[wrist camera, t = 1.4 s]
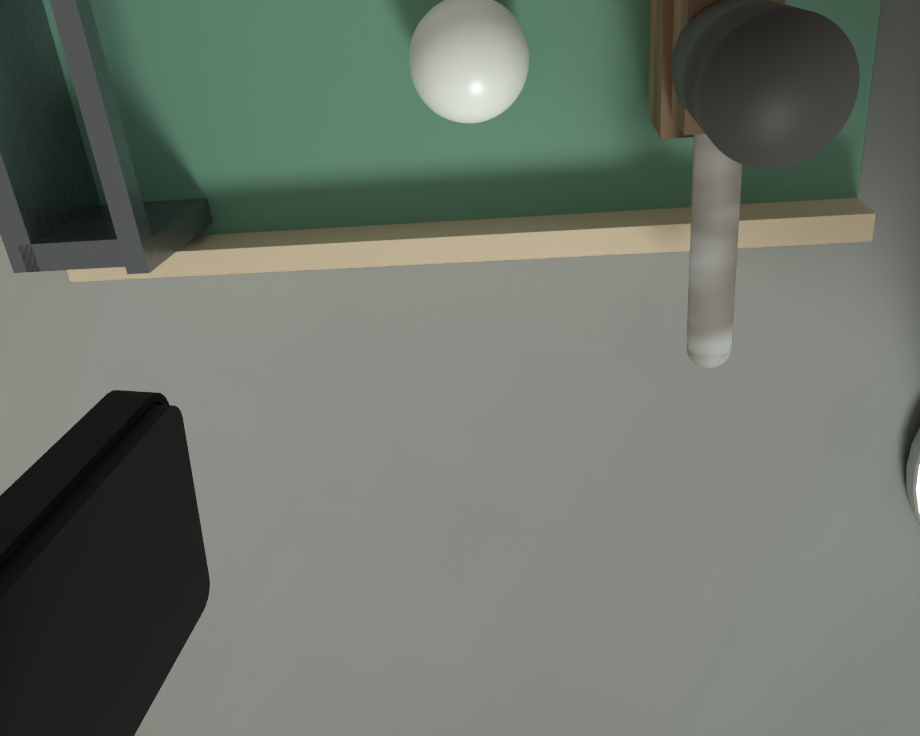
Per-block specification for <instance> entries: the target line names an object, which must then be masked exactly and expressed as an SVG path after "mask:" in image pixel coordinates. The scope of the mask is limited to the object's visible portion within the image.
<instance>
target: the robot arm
mask: <svg viewBox="0 0 920 736" xmlns="http://www.w3.org/2000/svg"><path fill="white" fill-rule="evenodd" d="M906 489H907V493H908V497H909V501H910V504H911V508H912V511H913V513H914V514H915V516H916V518H917V520H918V522H919V523H920V427H919V429H918V431H917V433H916V436H915V438H914V440H913V442H912V445H911V449H910V453H909V458H908V462H907V466H906ZM209 586H210V581H209V573H208V567H207V561H206V555H205V549H204V543H203V537H202V531H201V525H200V519H199V513H198V507H197V501H196V495H195V489H194V483H193V477H192V471H191V465H190V459H189V453H188V447H187V441H186V435H185V429H184V423H183V418H182V414H181V411H180V410H179V408H178V407H176V406H171V405H169V403H168V401H167V399H166V398H165V396H164V395H162V394H161V393H152V392H136V391H120V390H115V391H111V392H110V393H108V394H107V395H106V396H105V397H104V398H103V399H101V400H100V401H99V402H98V403H97V404H96V405H95V406H94V407H93V408H92V409H91V410H90V411H89V412H88V413H87V414H86V415H85V416H84V417H83V418H82V419H80V420H79V421H78V422H77V423H76V424H75V425H74V426H73V427H72V428H71V429H70V430H69V431H68V432H67V433H66V434H65V435H64V436H63V437H62V438H61V439H60V440H58V441H57V442H56V443H55V444H54V445H53V446H52V447H51V448H50V449H49V450H48V451H47V452H46V453H45V454H44V455H43V456H42V457H41V458H40V459H39V460H37V461H36V462H35V463H34V464H33V465H32V466H31V467H30V468H29V469H28V470H27V471H26V472H25V473H24V474H23V475H22V476H21V477H20V478H19V479H18V480H17V481H15V482H14V483H13V484H12V485H11V486H10V487H9V488H8V489H7V490H6V491H5V492H4V493H3V494H2V495H1V496H0V736H134V735H135V733H136V731H137V729H138V727H139V726H140V724H141V722H142V720H143V718H144V717H145V715H146V713H147V711H148V709H149V708H150V706H151V704H152V702H153V701H154V699H155V697H156V695H157V693H158V692H159V690H160V688H161V686H162V684H163V683H164V681H165V679H166V677H167V675H168V674H169V672H170V670H171V668H172V666H173V665H174V663H175V661H176V659H177V657H178V656H179V654H180V652H181V650H182V648H183V647H184V645H185V643H186V641H187V639H188V638H189V636H190V634H191V632H192V630H193V629H194V627H195V625H196V623H197V621H198V620H199V618H200V616H201V614H202V612H203V611H204V608H205V606H206V603H207V600H208V595H209Z"/></svg>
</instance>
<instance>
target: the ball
mask: <svg viewBox="0 0 920 736" xmlns="http://www.w3.org/2000/svg"><path fill="white" fill-rule="evenodd" d="M409 70H410V75H411V78H412V82H413V84H414V87H415V89H416V91H417V93H418V94H419V96H420V98H421V99H422V100H423V101H424V103H425V104H426V105H427V106H428V107H429V108H430V109H431V110H433V111H434V112H435V113H437V114H438V115H440V116H442V117H443V118H446V119H448V120H451V121H455V122H459V123H479V122H483V121H487V120H490V119H492V118H494V117H496V116H498V115H499V114H501V113H503V112H504V111H505V110H506V109H508V108H509V107H510V106H511V104H512V103H513V102H514V101H515V100H516V98H517V97H518V96H519V94H520V92H521V91H522V89H523V87H524V84H525V82H526V79H527V75H528V70H529V48H528V43H527V39H526V36H525V34H524V31H523V29H522V27H521V25H520V24H519V22H518V21H517V19H516V18H515V16H514V15H513V14H512V13H511V12H510V11H509V10H508V9H506V8H505V7H504V6H503V5H501V4H500V3H498V2H496V1H494V0H444V1H442V2H440V3H439V4H437V5H436V6H434V7H433V8H432V9H431V10H430V11H428V12H427V14H426V15H425V16H424V17H423V18H422V20H421V21H420V23H419V24H418V26H417V27H416V30H415V32H414V34H413V37H412V40H411V43H410V48H409Z"/></svg>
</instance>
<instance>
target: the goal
mask: <svg viewBox="0 0 920 736" xmlns="http://www.w3.org/2000/svg"><path fill="white" fill-rule="evenodd" d="M50 4H51V7H52V11H53V14H54V18H55V21H56V25H57V28H58V32H59V36H60V39H61V43H62V46H63V50H64V53H65V57H66V60H67V64H68V67H69V71H70V74H71V78H72V81H73V85H74V88H75V92H76V95H77V99H78V102H79V106H80V109H81V113H82V116H83V120H84V124H85V127H86V131H87V134H88V138H89V141H90V145H91V148H92V152H93V155H94V159H95V162H96V166H97V169H98V173H99V176H100V180H101V183H102V187H103V190H104V194H105V197H106V201H107V204H104V205H101V203H100V199H99V196H98V192H97V189H96V185H95V182H94V178H93V175H92V171H91V168H90V164H89V161H88V157H87V154H86V150H85V147H84V143H83V140H82V137H81V133H80V130H79V126H78V123H77V119H76V116H75V112H74V109H73V105H72V102H71V98H70V95H69V91H68V88H67V84H66V81H65V77H64V74H63V70H62V67H61V64H60V60H59V57H58V53H57V50H56V46H55V43H54V39H53V36H52V32H51V29H50V25H49V22H48V18H47V15H46V11H45V8H44V4H43V1H42V0H0V234H1V237H2V240H3V242H4V245H5V248H6V251H7V254H8V257H9V260H10V263H11V265H12V268H13V271H14V273H18V272H37V271H56V270H75V269H94V268H113V267H125V268H126V271H127V274H142V273H150V272H152V271H153V270H154V269H155V268H157V267H158V266H159V265H160V264H162V263H163V262H164V261H165V260H167V259H168V258H169V257H170V256H172V255H173V254H174V253H175V252H177V251H178V250H179V249H180V248H182V247H183V246H184V245H185V244H187V243H188V242H189V241H190V240H192V239H193V238H194V237H195V236H197V235H198V234H199V233H200V232H202V231H203V230H204V229H205V228H207V227H208V226H209V225H210V224H212V223H213V221H212V216H211V212H210V208H209V203H208V199H207V198H198V199H183V200H167V201H151V202H143V201H142V197H141V193H140V189H139V185H138V182H137V178H136V174H135V170H134V166H133V163H132V159H131V155H130V151H129V148H128V144H127V140H126V136H125V132H124V129H123V125H122V121H121V117H120V114H119V110H118V106H117V102H116V98H115V95H114V91H113V87H112V83H111V80H110V76H109V72H108V68H107V64H106V61H105V57H104V53H103V49H102V46H101V42H100V38H99V34H98V30H97V27H96V23H95V19H94V15H93V11H92V8H91V4H90V0H50Z"/></svg>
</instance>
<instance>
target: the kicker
mask: <svg viewBox="0 0 920 736" xmlns="http://www.w3.org/2000/svg"><path fill="white" fill-rule="evenodd" d="M785 2H786V0H650V3H649V100H648V116H649V118H650V120H651V122H652V124H653V126H654V128H655V130H656V131H657V133H658V135H659V137H660V139H674V138H688V137H694V146H693V176H692V205H691V234H690V263H689V292H688V322H687V352H688V355H689V357H690V359H691V360H692V361H693V362H694V363H695V364H697V365H698V366H700V367H704V368H714V367H717V366H719V365H721V364H723V363H724V362H725V361H726V360H727V358H728V357H729V355H730V352H731V345H732V328H733V312H734V295H735V279H736V262H737V246H738V229H739V213H740V196H741V180H742V165H745V166H749V167H753V168H761V169H774V168H782V167H786V166H790V165H793V164H796V163H799V162H801V161H803V160H805V159H807V158H809V157H811V156H813V155H814V154H816V153H817V152H819V151H820V150H822V149H823V148H824V147H825V146H826V145H828V144H829V143H830V142H831V141H832V140H833V139H834V138H835V137H836V136H837V134H838V133H839V132H840V131H841V129H842V128H843V127H844V125H845V123H846V122H847V120H848V118H849V117H850V114H851V112H852V110H853V108H854V105H855V102H856V99H857V95H858V89H859V79H860V73H859V64H858V59H857V55H856V52H855V50H854V47H853V45H852V43H851V41H850V40H849V38H848V36H847V35H846V34H845V33H844V31H843V30H842V29H841V28H840V27H839V26H838V25H837V24H835V23H834V22H833V21H831V20H830V19H828V18H827V17H825V16H823V15H821V14H818V13H816V12H812V11H809V10H805V9H801V8H797V7H793V6H790V5H786V4H785Z"/></svg>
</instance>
